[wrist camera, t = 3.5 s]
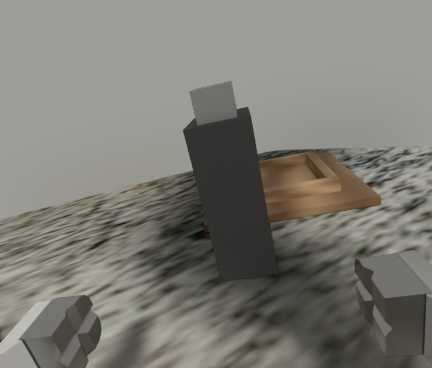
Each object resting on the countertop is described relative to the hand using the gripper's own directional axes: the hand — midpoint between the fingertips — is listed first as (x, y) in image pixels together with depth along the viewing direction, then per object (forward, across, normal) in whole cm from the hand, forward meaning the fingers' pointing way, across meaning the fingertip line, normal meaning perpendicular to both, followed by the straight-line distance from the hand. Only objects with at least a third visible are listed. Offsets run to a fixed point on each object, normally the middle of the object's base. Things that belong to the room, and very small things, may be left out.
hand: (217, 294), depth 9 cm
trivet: (+25, -4, +7) cm, 27 cm away
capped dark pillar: (+12, 0, +7) cm, 14 cm away
